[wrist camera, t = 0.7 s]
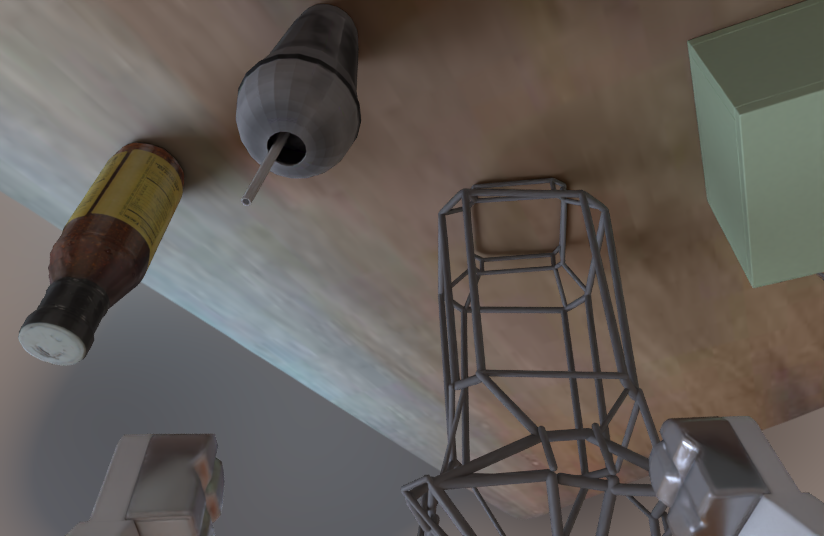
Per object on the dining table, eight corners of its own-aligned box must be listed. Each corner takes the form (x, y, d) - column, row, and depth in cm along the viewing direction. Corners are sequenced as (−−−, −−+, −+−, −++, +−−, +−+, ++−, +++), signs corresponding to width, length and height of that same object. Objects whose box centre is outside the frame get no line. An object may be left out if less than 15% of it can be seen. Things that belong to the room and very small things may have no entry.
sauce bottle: (128, 200, 57) (16, 379, 42) (102, 138, 52) (-33, 312, 38) (201, 199, 56) (113, 379, 41) (180, 136, 52) (74, 311, 37)
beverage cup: (387, 74, 48) (360, 245, 33) (295, 91, 49) (228, 263, 34) (362, -27, 43) (318, 120, 28) (261, -6, 44) (166, 145, 29)
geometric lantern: (590, 283, 61) (699, 722, 35) (425, 285, 62) (410, 713, 36) (617, 137, 51) (800, 608, 24) (418, 142, 52) (389, 599, 25)
